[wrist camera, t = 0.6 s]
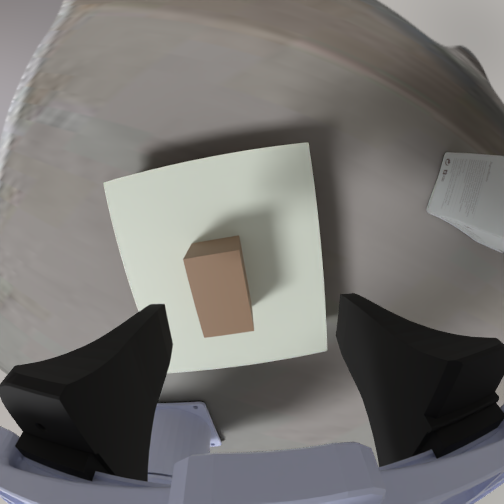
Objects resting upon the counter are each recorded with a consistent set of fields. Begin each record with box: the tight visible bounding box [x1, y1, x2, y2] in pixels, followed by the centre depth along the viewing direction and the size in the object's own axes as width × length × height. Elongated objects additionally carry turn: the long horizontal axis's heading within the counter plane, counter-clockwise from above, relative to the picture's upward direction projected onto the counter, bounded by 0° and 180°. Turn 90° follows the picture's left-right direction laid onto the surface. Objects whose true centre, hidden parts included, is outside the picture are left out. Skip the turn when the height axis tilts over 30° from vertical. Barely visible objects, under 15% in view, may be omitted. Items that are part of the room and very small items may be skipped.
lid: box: [103, 142, 327, 373], centre depth 18 cm, size 13×15×4 cm
